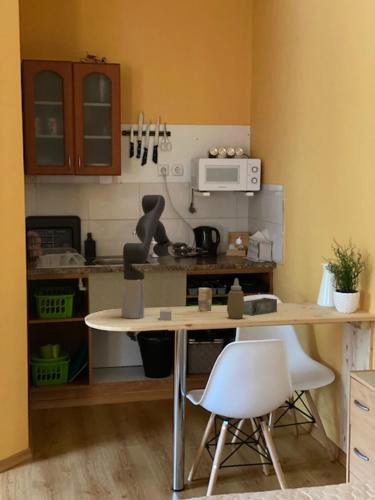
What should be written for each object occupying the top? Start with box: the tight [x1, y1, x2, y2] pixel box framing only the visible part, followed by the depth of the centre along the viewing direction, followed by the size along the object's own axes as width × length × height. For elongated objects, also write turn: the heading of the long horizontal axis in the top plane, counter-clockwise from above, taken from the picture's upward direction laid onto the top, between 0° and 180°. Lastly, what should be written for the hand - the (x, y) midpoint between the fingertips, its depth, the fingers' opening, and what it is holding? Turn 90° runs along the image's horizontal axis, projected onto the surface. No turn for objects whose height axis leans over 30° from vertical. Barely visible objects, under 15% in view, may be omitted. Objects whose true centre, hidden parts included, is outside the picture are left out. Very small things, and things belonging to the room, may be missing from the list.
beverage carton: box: [243, 297, 278, 316], centre depth 308 cm, size 8×19×7 cm, turn 134°
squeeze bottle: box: [226, 277, 245, 320], centre depth 291 cm, size 8×8×18 cm
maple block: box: [197, 287, 213, 312], centre depth 308 cm, size 4×4×11 cm
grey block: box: [159, 309, 172, 321], centre depth 285 cm, size 5×5×4 cm
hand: (194, 251), depth 315 cm, fingers open, 8 cm apart
